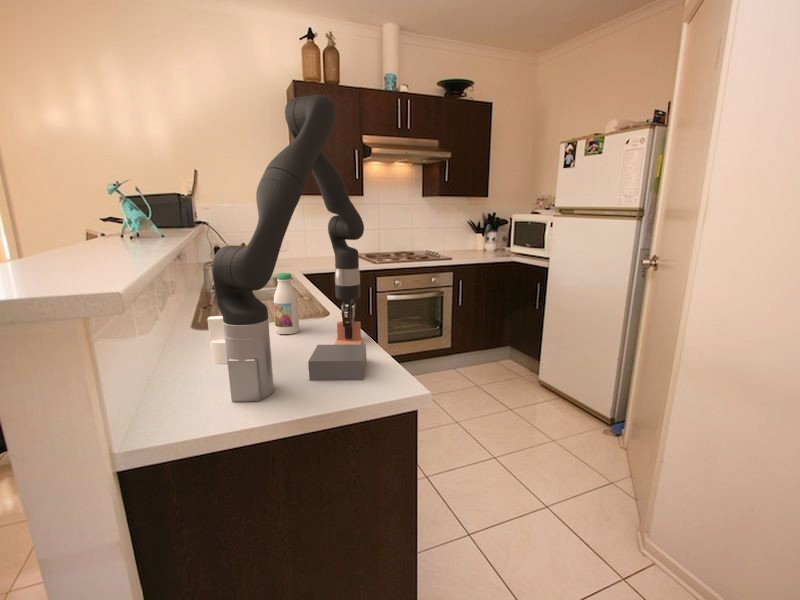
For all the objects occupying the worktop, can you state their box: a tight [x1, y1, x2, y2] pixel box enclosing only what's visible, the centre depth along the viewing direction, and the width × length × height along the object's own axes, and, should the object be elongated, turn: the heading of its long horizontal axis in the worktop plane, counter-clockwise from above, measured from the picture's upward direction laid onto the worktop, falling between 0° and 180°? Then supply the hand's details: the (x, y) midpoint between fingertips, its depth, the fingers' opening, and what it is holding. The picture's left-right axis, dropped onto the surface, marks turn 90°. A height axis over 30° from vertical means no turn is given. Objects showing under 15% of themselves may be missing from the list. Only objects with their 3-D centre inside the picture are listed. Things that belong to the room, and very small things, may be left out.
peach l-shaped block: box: [333, 321, 363, 345], centre depth 118 cm, size 20×8×6 cm, turn 1°
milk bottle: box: [273, 272, 300, 335], centre depth 135 cm, size 8×8×20 cm
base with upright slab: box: [207, 315, 228, 365], centre depth 112 cm, size 9×9×12 cm
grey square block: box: [307, 344, 367, 381], centre depth 105 cm, size 13×13×5 cm
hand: (349, 336), depth 127 cm, fingers closed on peach l-shaped block, 2 cm apart
